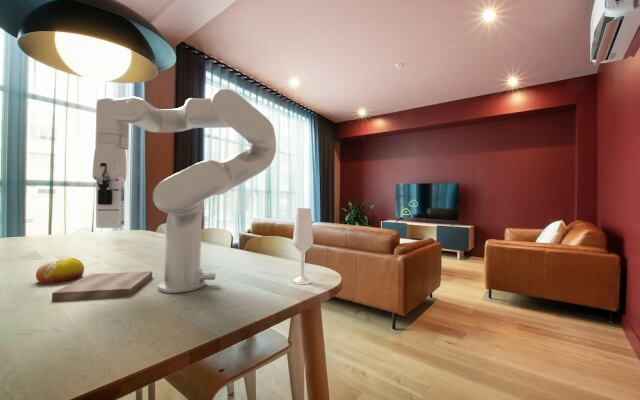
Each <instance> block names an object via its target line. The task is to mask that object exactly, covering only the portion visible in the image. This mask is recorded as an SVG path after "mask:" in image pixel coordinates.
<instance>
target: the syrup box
mask: <svg viewBox="0 0 640 400" xmlns="http://www.w3.org/2000/svg"><path fill="white" fill-rule="evenodd" d="M104 179H110V178H105V177H104ZM95 183H96V184H95V186H96V188H95V190H96V191H95V195H96V196H95V227H96V229H97V228H98V229H113V228H121V227H124V226H125V182H124V179H123V178H121V177H117V178H116V180H115V181H113V182H112V187H111V190H113V191H112V204H111V205H99V204H98V189H97V187H98V184H97V180H95ZM107 184H108V182H107Z"/></svg>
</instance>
